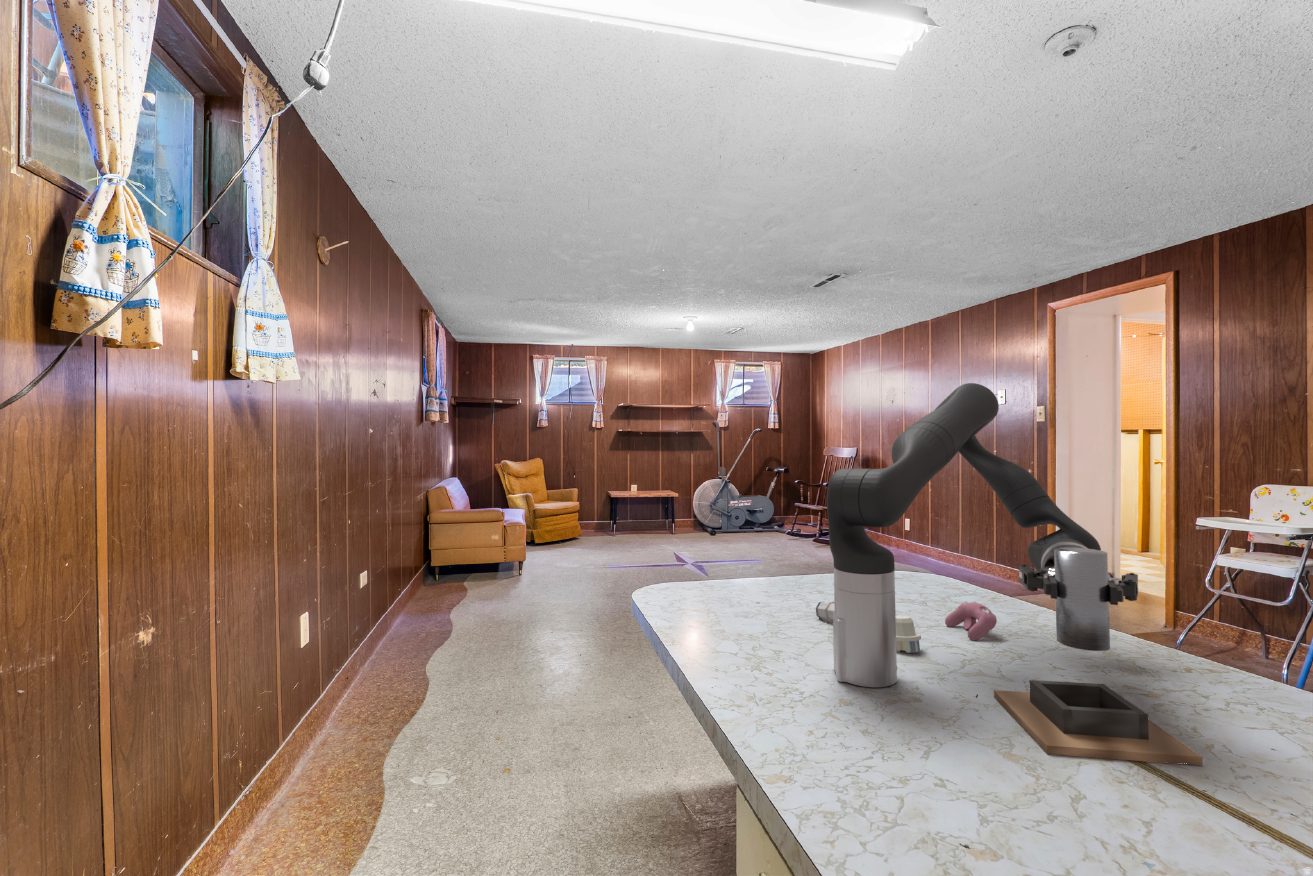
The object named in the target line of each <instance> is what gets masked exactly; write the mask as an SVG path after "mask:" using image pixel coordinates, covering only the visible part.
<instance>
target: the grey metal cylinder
mask: <svg viewBox="0 0 1313 876" xmlns="http://www.w3.org/2000/svg"><path fill="white" fill-rule="evenodd" d="M1054 561H1055V579H1056V581H1057V599H1055V624H1056V641H1057V642H1058V643H1059V644H1061V645H1063V646H1065V647H1069V648H1073V649H1077V650H1083V651H1092V652H1103V651H1105V652H1106V651H1108V650H1111V636H1110V635H1111V634H1110V633H1111V629H1110V628H1111V627H1110V603H1109V596H1108V572H1109V565H1108V564H1109V563H1108V562H1109V561H1108V552H1106V551H1104V550H1101V551H1100V550H1094V549H1086V548H1067V547H1066V548H1055V549H1054Z"/></svg>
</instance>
